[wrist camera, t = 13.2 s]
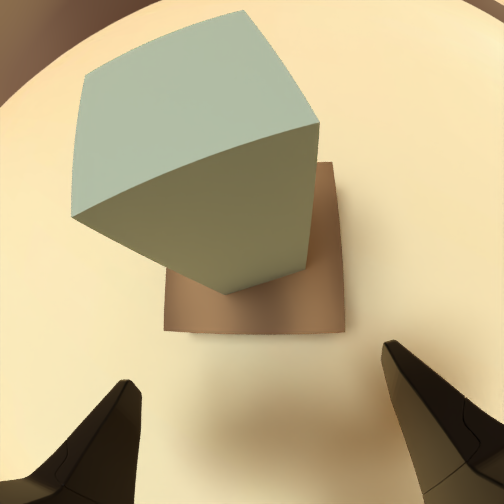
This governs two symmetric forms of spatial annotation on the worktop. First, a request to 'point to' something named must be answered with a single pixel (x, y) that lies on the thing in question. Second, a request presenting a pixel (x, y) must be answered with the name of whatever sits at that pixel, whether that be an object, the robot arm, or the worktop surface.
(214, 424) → the worktop surface
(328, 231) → the base brick
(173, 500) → the worktop surface
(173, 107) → the tall block
